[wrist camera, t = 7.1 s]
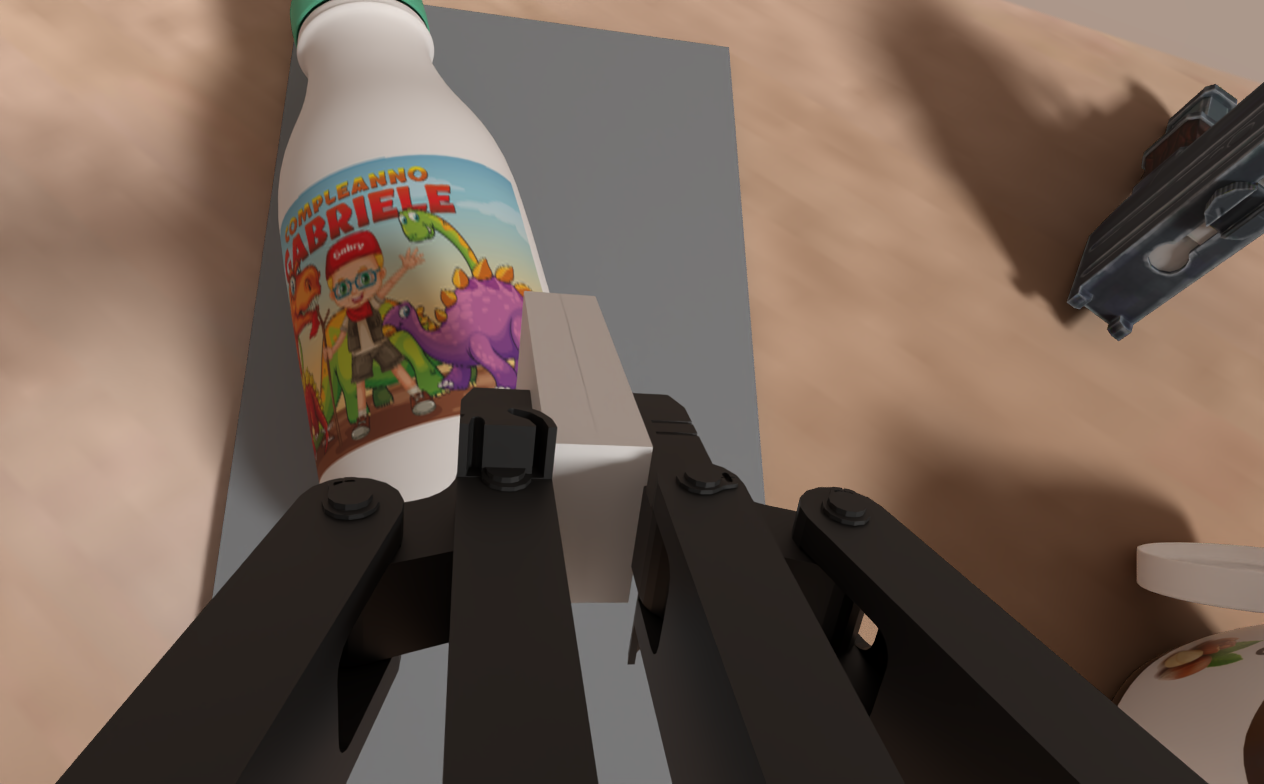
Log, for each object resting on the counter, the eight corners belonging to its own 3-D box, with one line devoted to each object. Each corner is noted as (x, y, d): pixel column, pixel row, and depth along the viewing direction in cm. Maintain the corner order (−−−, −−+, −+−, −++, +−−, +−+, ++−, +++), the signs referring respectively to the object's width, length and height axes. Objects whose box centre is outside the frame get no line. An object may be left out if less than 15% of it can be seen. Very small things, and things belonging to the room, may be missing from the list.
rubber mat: (791, 929, 26) (799, 933, 25) (162, 984, 22) (154, 992, 22) (724, 56, 37) (728, 47, 37) (304, -1, 34) (301, -13, 33)
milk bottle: (390, 604, 27) (296, 105, 33) (619, 536, 27) (484, 56, 33) (286, 583, 19) (190, -55, 25) (603, 491, 20) (433, -115, 26)
